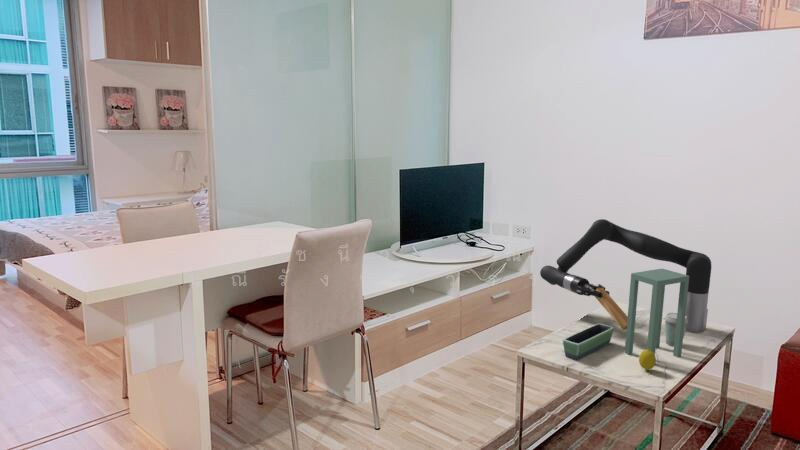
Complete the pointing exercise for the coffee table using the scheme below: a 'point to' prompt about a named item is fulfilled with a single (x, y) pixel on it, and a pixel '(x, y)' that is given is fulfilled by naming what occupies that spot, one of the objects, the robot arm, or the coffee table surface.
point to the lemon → (647, 359)
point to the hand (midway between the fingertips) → (605, 294)
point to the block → (613, 308)
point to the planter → (587, 341)
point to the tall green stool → (657, 307)
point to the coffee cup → (672, 327)
